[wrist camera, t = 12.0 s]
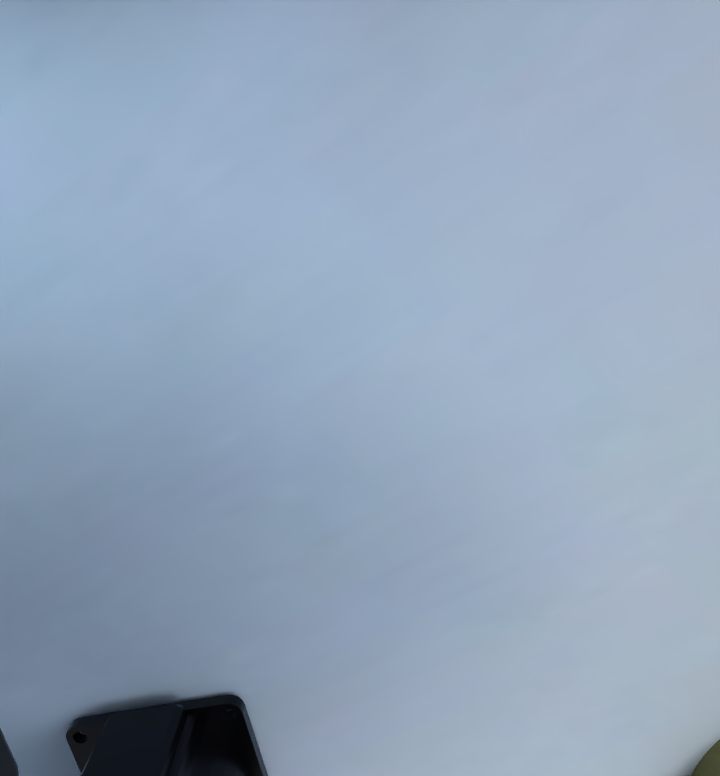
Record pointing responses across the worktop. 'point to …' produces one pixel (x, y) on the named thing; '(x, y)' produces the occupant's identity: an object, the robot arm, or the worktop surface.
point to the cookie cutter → (709, 763)
